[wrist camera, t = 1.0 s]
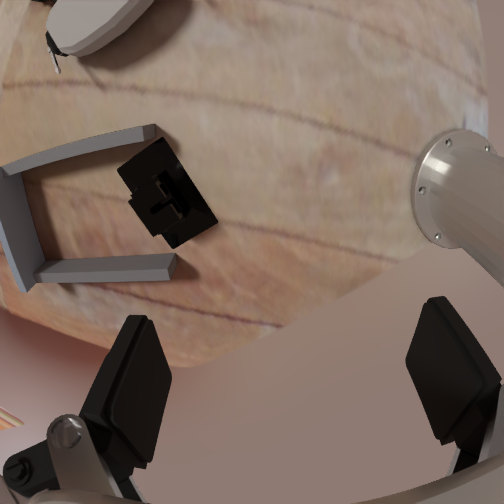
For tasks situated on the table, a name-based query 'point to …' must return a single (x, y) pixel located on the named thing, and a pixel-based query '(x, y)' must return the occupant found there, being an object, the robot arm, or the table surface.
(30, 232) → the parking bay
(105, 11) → the robot toy
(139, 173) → the black bracket part
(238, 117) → the table surface
